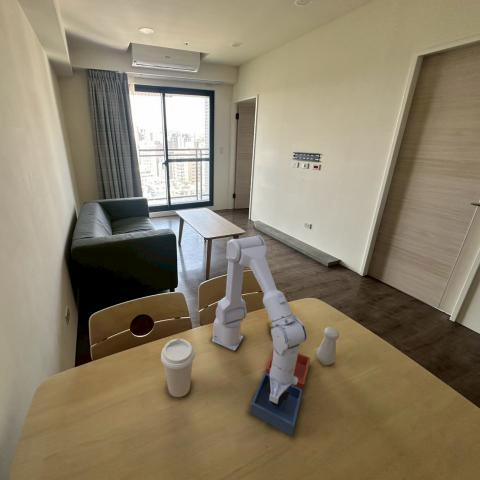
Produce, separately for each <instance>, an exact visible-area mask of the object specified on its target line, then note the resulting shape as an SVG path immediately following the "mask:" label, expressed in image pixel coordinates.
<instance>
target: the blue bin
mask: <svg viewBox="0 0 480 480" xmlns="http://www.w3.org/2000/svg"><path fill="white" fill-rule="evenodd" d="M268 381H269V382H270V375H269V374H267V373H266V372H264V373H263V374H262V377H261V380H260V382H259V385H258V387H257V389H256V392H255V394H254V396H253V399H252V400H251V401H252V402H251V405H250V411H249V412H250V414H251V415H252V416H254V417H256V418H258V419H260V420H261V421H264V422H265V423H267V424H269V425H271V426H273V427H274V428H276V429H279V430H280V431H282V432H284V433H285V434H287V435H289V436H291V437H293V435H294V430H295V426H296V422H297V417H298V412H299V408H300V405H301V400H302V395H303V392H302V391H304V389H303V390H302V389H300V388H298V387H296V386H293V385H290V386H289V387H288V392H289V395H288V398H287V399H286V401H285V404H284V408H283V411H281V410H279V409H277V408H275V407H273V406H271V405H269V404H268V400H269V393H268V392H267V391H266V385H267V383H268Z"/></svg>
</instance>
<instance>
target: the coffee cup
mask: <svg viewBox="0 0 480 480" xmlns="http://www.w3.org/2000/svg"><path fill="white" fill-rule="evenodd" d="M195 357H196V352H195V349H194V347H193V345H192V344H191V343H190V342H189V341H188V340H186V339H184V338H175V339H174V338H173V339H171V340H169V341H167V342H166V344H165V345H164V347H163V348H162V350H161V354H160V361H161V363H162V364H163V369H164V373H165V378H166V383H167V389H168V392H169V394H170V395H171V396H172V397H175V398H181V397H184V396H186V395H187V394H188V393H189V392H190V388H191V381H192V371H193V361H194V360H195Z"/></svg>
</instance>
